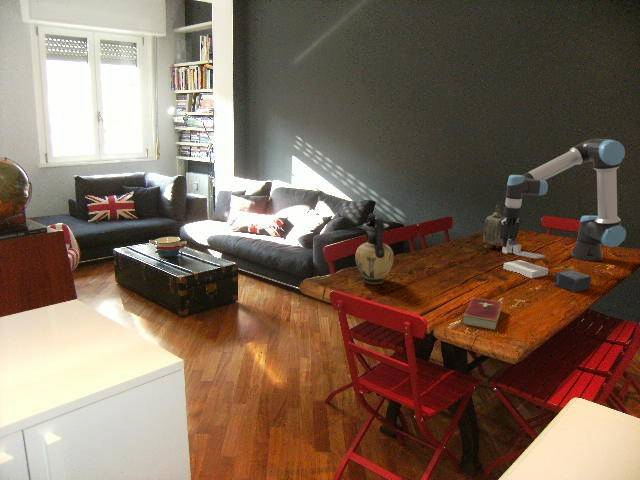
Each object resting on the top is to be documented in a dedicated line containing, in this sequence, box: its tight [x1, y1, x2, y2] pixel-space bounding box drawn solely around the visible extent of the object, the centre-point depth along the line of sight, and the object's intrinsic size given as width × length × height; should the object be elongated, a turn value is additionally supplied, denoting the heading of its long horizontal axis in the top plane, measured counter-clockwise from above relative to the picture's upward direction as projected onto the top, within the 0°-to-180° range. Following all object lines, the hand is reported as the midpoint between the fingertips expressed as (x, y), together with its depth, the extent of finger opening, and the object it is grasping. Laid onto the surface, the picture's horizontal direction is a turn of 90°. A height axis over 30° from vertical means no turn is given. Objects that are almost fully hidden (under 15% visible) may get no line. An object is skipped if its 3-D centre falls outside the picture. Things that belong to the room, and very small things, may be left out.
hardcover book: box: [461, 296, 504, 331], centre depth 202 cm, size 12×21×4 cm, turn 156°
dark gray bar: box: [498, 239, 546, 259], centre depth 262 cm, size 24×6×6 cm, turn 32°
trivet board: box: [502, 259, 549, 279], centre depth 261 cm, size 16×12×3 cm
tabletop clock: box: [482, 203, 505, 249], centre depth 302 cm, size 14×9×25 cm, turn 144°
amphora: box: [354, 213, 394, 285], centre depth 237 cm, size 18×17×30 cm
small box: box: [554, 269, 593, 293], centre depth 239 cm, size 11×6×10 cm
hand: (506, 252), depth 269 cm, fingers closed on dark gray bar, 2 cm apart
